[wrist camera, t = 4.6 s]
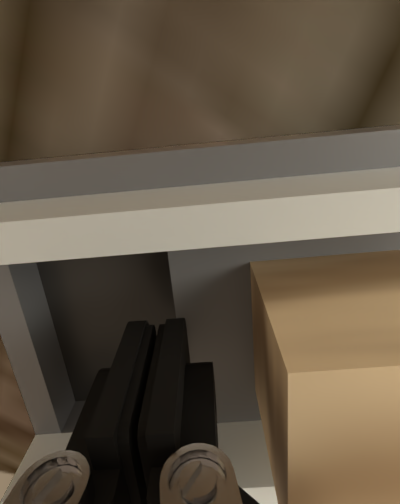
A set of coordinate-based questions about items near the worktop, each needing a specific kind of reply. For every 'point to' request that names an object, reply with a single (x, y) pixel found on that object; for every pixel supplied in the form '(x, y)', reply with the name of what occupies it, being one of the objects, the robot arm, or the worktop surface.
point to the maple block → (329, 375)
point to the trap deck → (175, 261)
